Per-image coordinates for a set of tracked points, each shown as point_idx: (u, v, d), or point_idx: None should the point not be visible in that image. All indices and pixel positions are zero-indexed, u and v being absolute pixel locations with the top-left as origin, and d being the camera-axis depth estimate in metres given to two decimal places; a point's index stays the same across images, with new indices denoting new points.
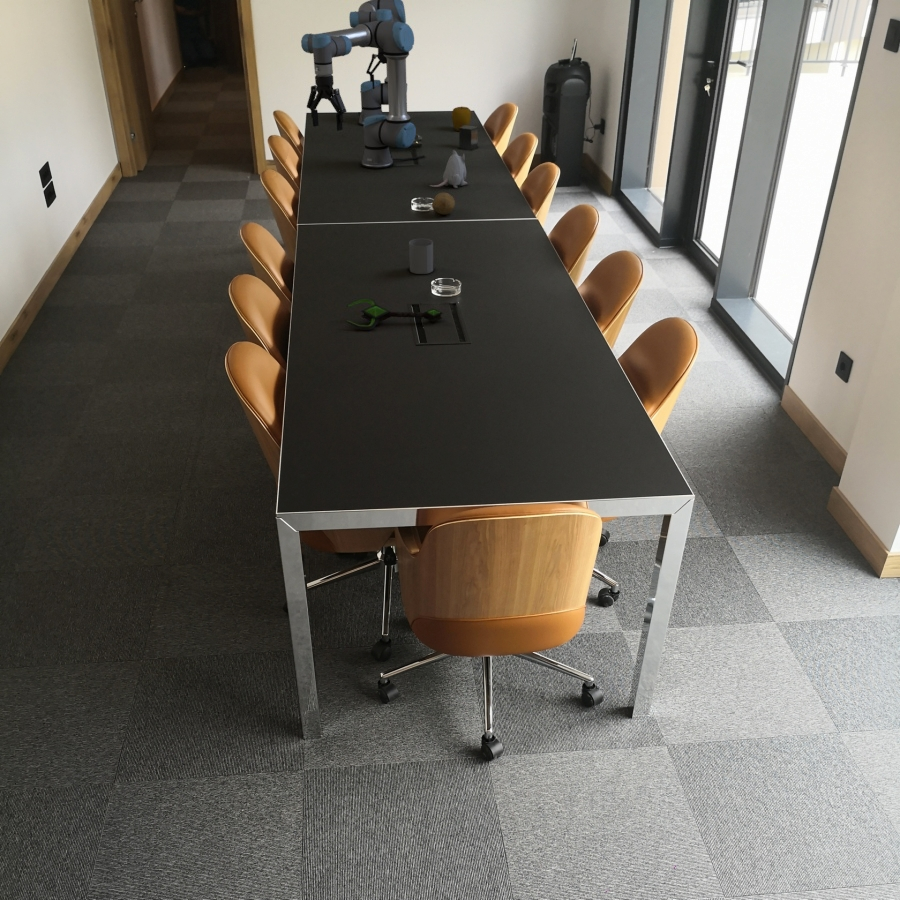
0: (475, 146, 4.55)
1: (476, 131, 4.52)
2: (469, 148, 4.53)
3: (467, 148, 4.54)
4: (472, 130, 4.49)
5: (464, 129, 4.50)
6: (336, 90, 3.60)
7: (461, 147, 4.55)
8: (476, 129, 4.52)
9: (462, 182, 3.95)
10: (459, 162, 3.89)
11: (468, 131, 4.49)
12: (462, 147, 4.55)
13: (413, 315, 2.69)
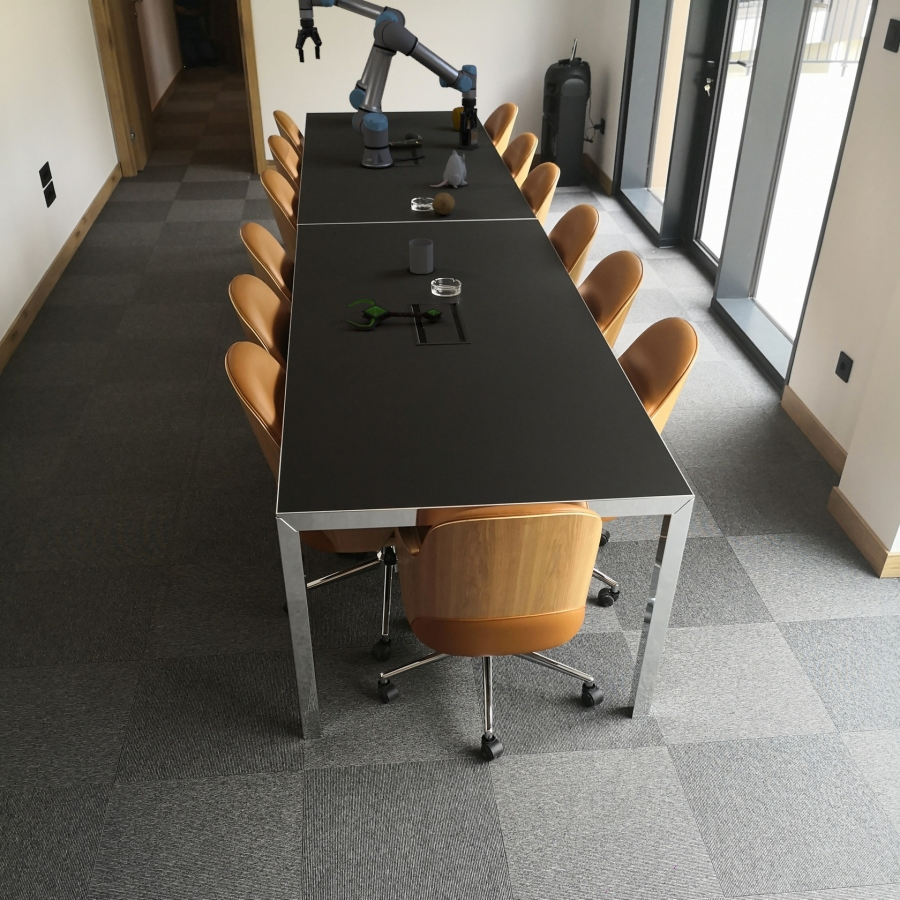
0: (475, 146, 4.55)
1: (476, 131, 4.52)
2: (469, 148, 4.53)
3: (467, 148, 4.54)
4: (472, 130, 4.49)
5: None
6: (461, 113, 4.43)
7: (461, 147, 4.55)
8: (476, 129, 4.52)
9: (462, 182, 3.95)
10: (459, 162, 3.89)
11: (468, 131, 4.49)
12: (462, 147, 4.55)
13: (413, 315, 2.69)
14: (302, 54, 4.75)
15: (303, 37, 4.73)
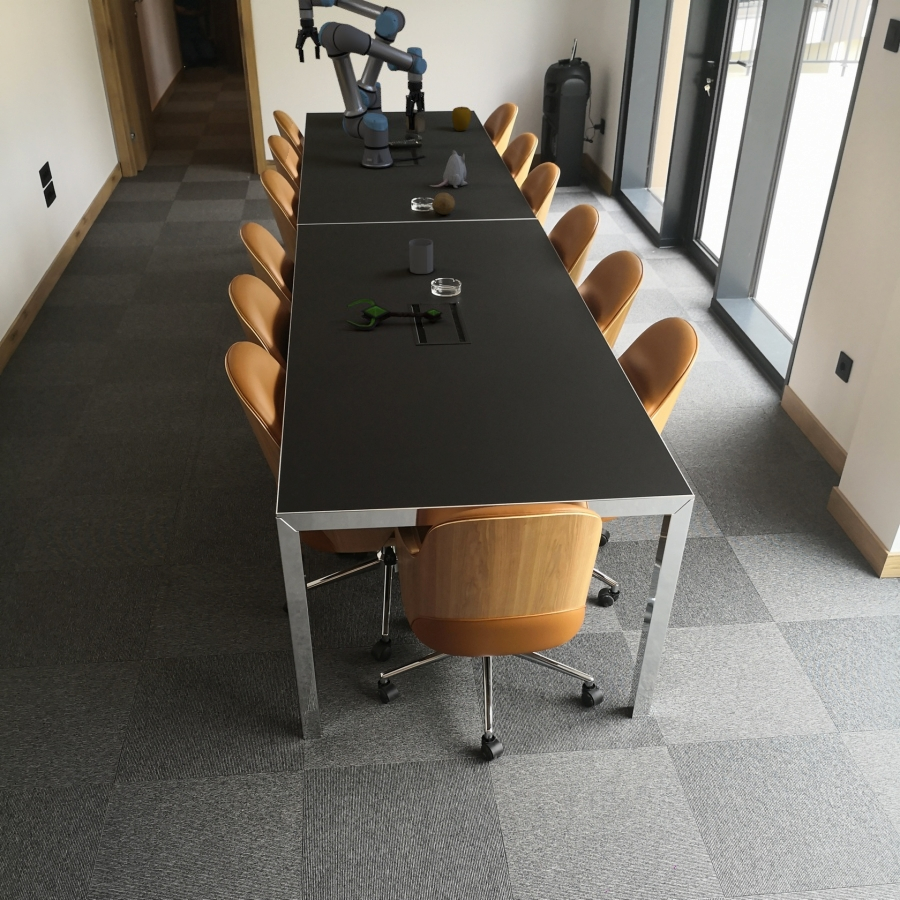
0: (422, 130, 4.50)
1: (422, 115, 4.46)
2: (416, 132, 4.47)
3: (414, 132, 4.48)
4: (418, 114, 4.43)
5: None
6: (406, 96, 4.37)
7: (408, 131, 4.50)
8: (423, 113, 4.46)
9: (462, 182, 3.95)
10: (459, 162, 3.89)
11: (414, 115, 4.43)
12: (409, 131, 4.49)
13: (413, 315, 2.69)
14: (302, 54, 4.75)
15: (303, 37, 4.73)
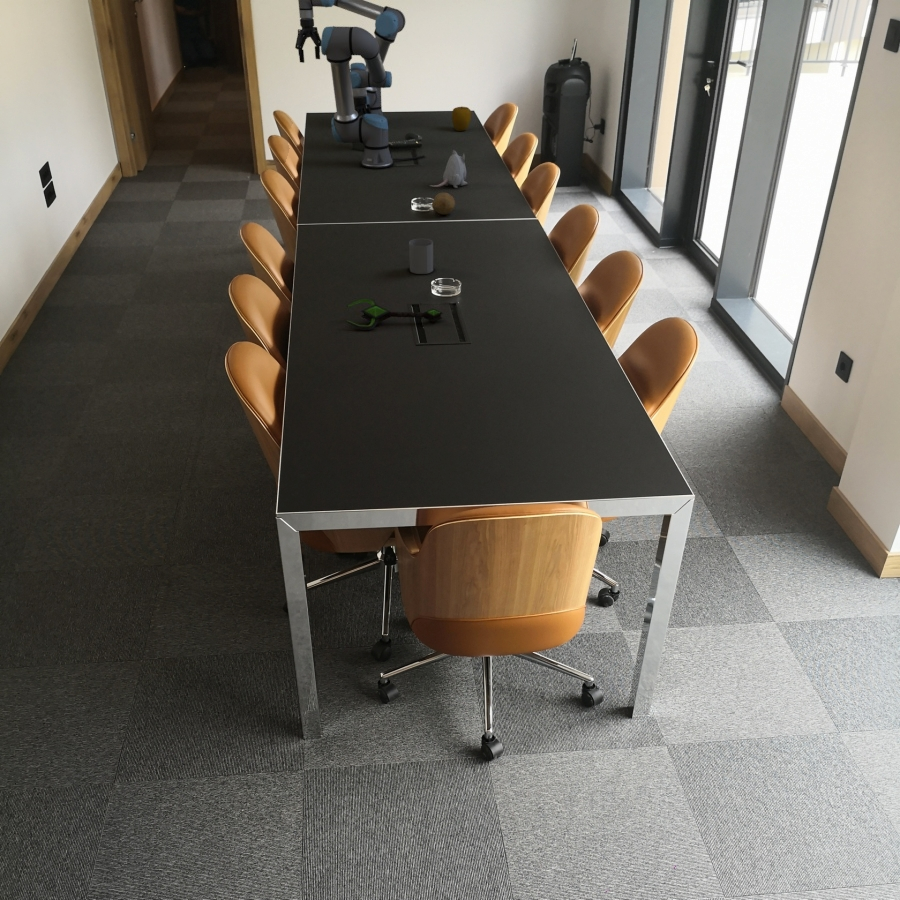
0: None
1: None
2: (362, 149, 4.51)
3: (360, 149, 4.52)
4: None
5: None
6: None
7: (354, 148, 4.54)
8: None
9: (462, 182, 3.95)
10: (459, 162, 3.89)
11: None
12: (355, 148, 4.53)
13: (413, 315, 2.69)
14: (302, 54, 4.75)
15: (303, 37, 4.73)
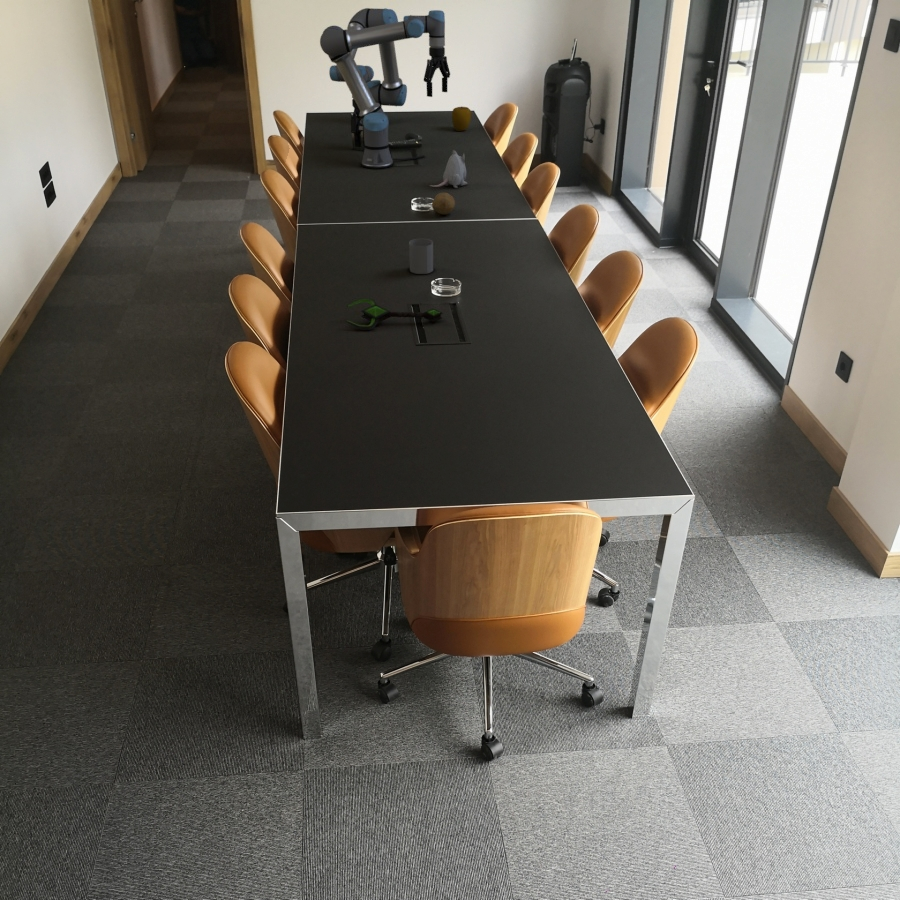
0: None
1: None
2: (362, 149, 4.51)
3: (360, 149, 4.52)
4: None
5: None
6: (428, 60, 4.11)
7: (354, 148, 4.54)
8: None
9: (462, 182, 3.95)
10: (459, 162, 3.89)
11: (360, 132, 4.47)
12: (355, 148, 4.53)
13: (413, 315, 2.69)
14: (358, 138, 4.49)
15: (357, 120, 4.45)
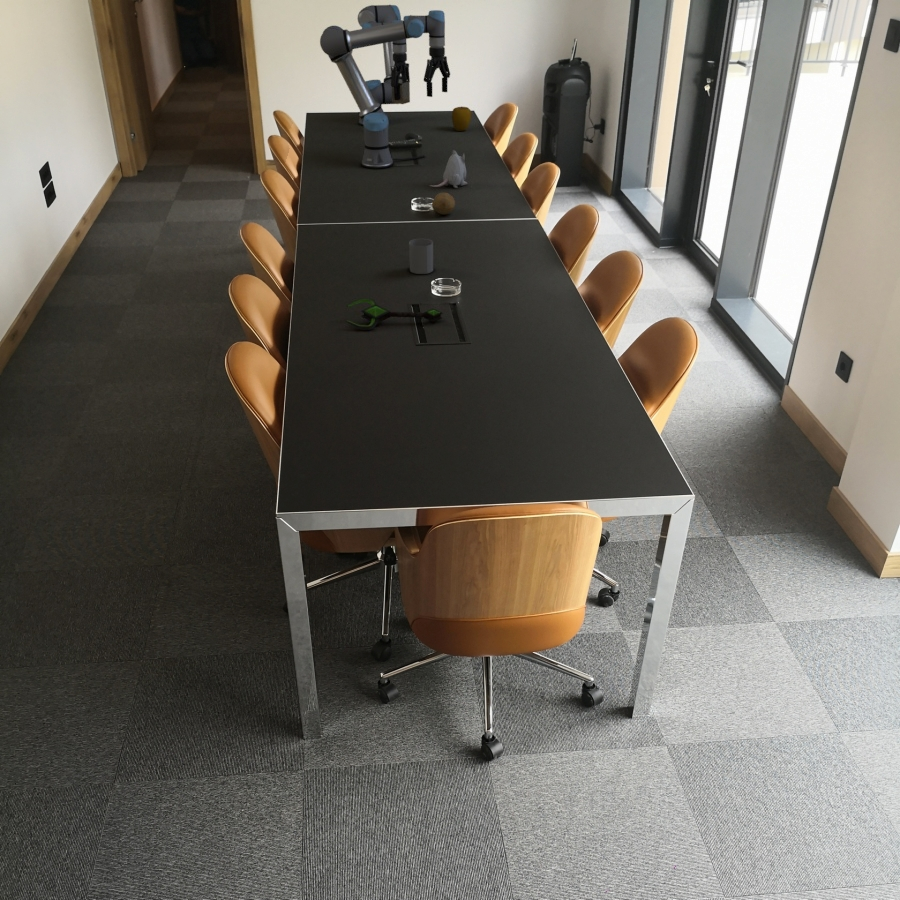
0: (407, 100, 4.73)
1: (407, 86, 4.69)
2: (401, 102, 4.71)
3: (399, 102, 4.71)
4: (403, 84, 4.66)
5: None
6: (428, 60, 4.11)
7: (394, 101, 4.73)
8: (408, 84, 4.69)
9: (462, 182, 3.95)
10: (459, 162, 3.89)
11: (399, 85, 4.66)
12: (394, 101, 4.73)
13: (413, 315, 2.69)
14: (397, 92, 4.68)
15: (397, 73, 4.64)
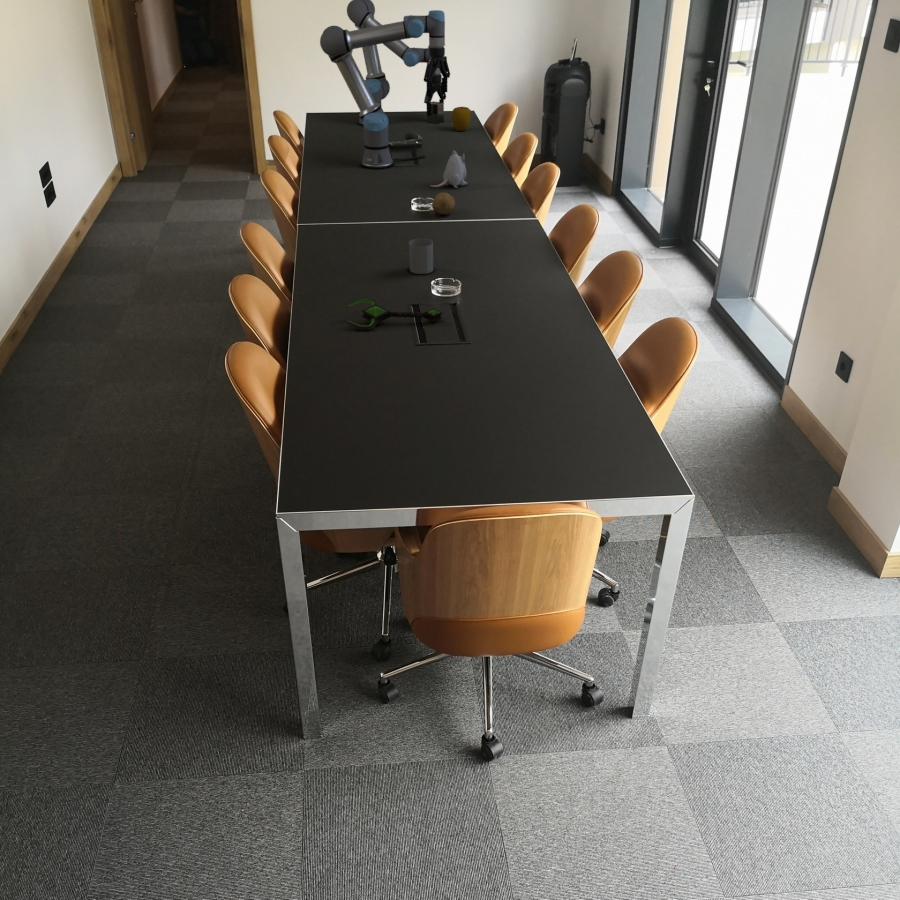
0: (441, 120, 5.08)
1: (442, 106, 5.05)
2: (436, 122, 5.06)
3: (434, 122, 5.06)
4: (438, 105, 5.01)
5: (431, 104, 5.02)
6: (428, 60, 4.11)
7: (429, 121, 5.08)
8: (442, 104, 5.04)
9: (462, 182, 3.95)
10: (459, 162, 3.89)
11: (435, 106, 5.01)
12: (430, 121, 5.08)
13: (413, 315, 2.69)
14: (430, 108, 4.99)
15: None
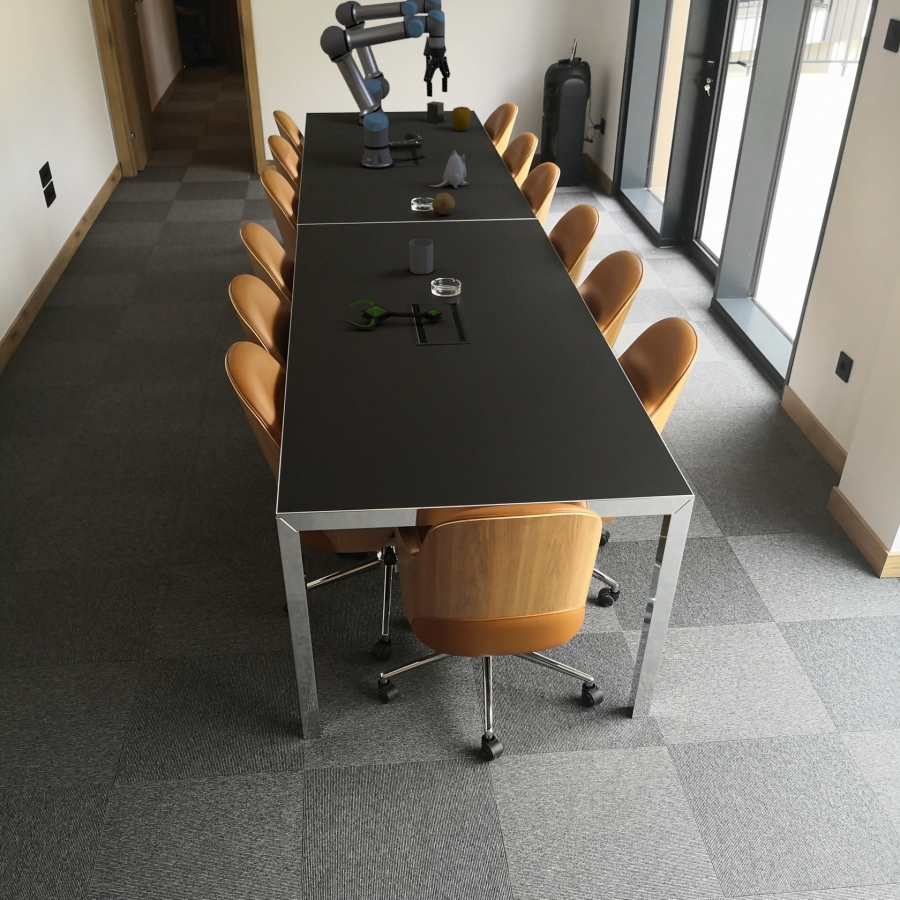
0: (441, 120, 5.08)
1: (442, 106, 5.05)
2: (436, 122, 5.06)
3: (434, 122, 5.06)
4: (438, 105, 5.01)
5: (431, 104, 5.02)
6: (428, 60, 4.11)
7: (429, 121, 5.08)
8: (442, 104, 5.04)
9: (462, 182, 3.95)
10: (459, 162, 3.89)
11: (435, 106, 5.01)
12: (430, 121, 5.08)
13: (413, 315, 2.69)
14: None
15: None
